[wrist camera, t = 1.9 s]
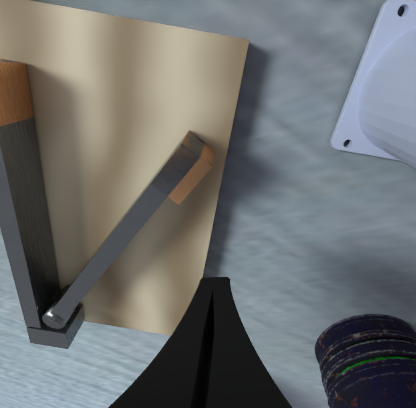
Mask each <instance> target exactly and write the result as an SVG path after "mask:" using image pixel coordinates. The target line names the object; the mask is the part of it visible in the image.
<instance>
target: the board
mask: <svg viewBox="0 0 416 408" xmlns="http://www.w3.org/2000/svg"><path fill="white" fill-rule="evenodd" d="M248 44H249V40H247V39H242V38H236V37H231V36H225V35H219V34H214V33H208V32H203V31H197V30H192V29H186V28H181V27H175V26H169V25H164V24H158V23H153V22H147V21H142V20H136V19H131V18H125V17H119V16H114V15H108V14H103V13H97V12H92V11H86V10H81V9H75V8H70V7H64V6H58V5H53V4H47V3H42V2H36V1H31V0H0V58H1V59H6V60H12V61H17V62H23V63H25V64H26V70H27V77H28V83H29V90H30V96H31V103H32V109H33V116H34V122H35V129H36V136H37V142H38V149H39V155H40V162H41V168H42V175H43V181H44V188H45V194H46V201H47V208H48V214H49V221H50V227H51V234H52V240H53V247H54V253H55V260H56V266H57V273H58V280H59V286H60V292H61V291H62V289H63V288H64V287H65V286H66V285H71V283H72V282H73V281H74V279H75V278H76V277H77V276H78V274H79V273H80V272H81V270H82V269H83V268H84V266H85V265H86V264H87V263H88V261H89V260H90V259H91V257H92V256H93V255H94V253H95V252H96V251H97V250H98V248H99V247H100V246H101V244H102V243H103V242H104V240H105V239H106V238H107V237H108V235H109V234H110V233H111V231H112V230H113V229H114V227H115V226H116V225H117V224H118V222H119V221H120V220H121V218H122V217H123V216H124V214H125V213H126V212H127V211H128V209H129V208H130V207H131V205H132V204H133V203H134V201H135V200H136V199H137V197H138V196H139V195H140V194H141V192H142V191H143V190H144V188H145V187H146V186H147V184H148V183H149V182H150V181H151V179H152V178H153V177H154V175H155V174H156V173H157V171H158V170H159V169H160V168H161V166H162V165H163V164H164V162H165V161H166V160H167V158H168V157H169V156H170V155H171V153H172V152H173V151H174V149H175V148H176V147H177V145H178V144H179V143H180V142H181V140H182V139H183V138H184V136H185V135H186V134H187V132H188V131H189V130H190V131H192V132H193V133H194V134H195V135H196V136H198V137H199V138H200V139H201V140H203V141H204V142H205V143H206V144H207V145H209V146H210V147H211V148H212V149H214V150H215V153H214V159H213V165H212V168H211V169H210V170H209V171H208V172H207V174H206V175H205V176H204V177H203V178H202V179H201V180H200V181H199V183H198V184H197V185H196V186H195V187H194V188H193V189H192V191H191V192H190V193H189V194H188V195H187V196H186V197H185V199H184V200H183V201H182V202H181V203H180V204H179V205H178V204H177V203H176V202H174V201H173V200H171V199H170V198H169V197H167V198H166V199H165V200H164V202H163V203H162V204H161V205H160V206H159V208H158V209H157V210H156V211H155V212H154V214H153V215H152V216H151V217H150V218H149V220H148V221H147V222H146V223H145V224H144V226H143V227H142V228H141V229H140V230H139V232H138V233H137V234H136V235H135V236H134V238H133V239H132V240H131V241H130V242H129V244H128V245H127V246H126V247H125V248H124V250H123V251H122V252H121V253H120V254H119V255H118V257H117V258H116V259H115V260H114V261H113V263H112V264H111V265H110V266H109V267H108V269H107V270H106V271H105V272H104V273H103V275H102V276H101V277H100V278H99V279H98V281H97V282H96V283H95V284H94V285H93V287H92V288H91V289H90V290H89V291H88V293H87V294H86V295H85V296H84V297H83V299H82V300H81V301H80V302H79V304H83V305H84V315H85V320H84V321H87V322H93V323H99V324H105V325H112V326H118V327H124V328H130V329H136V330H142V331H148V332H154V333H160V334H166V335H172V333H173V332H174V330H175V329H176V327H177V325H178V324H179V322H180V321H181V319H182V317H183V315H184V314H185V312H186V310H187V308H188V306H189V304H190V302H191V300H192V298H193V296H194V294H195V292H196V289H197V287H198V285H199V282H200V279H202V277H203V272H204V267H205V262H206V257H207V252H208V247H209V242H210V237H211V231H212V226H213V221H214V216H215V211H216V206H217V201H218V196H219V191H220V186H221V181H222V176H223V171H224V166H225V161H226V155H227V150H228V145H229V140H230V135H231V130H232V125H233V120H234V115H235V110H236V105H237V100H238V95H239V90H240V85H241V79H242V74H243V69H244V64H245V59H246V54H247V49H248Z"/></svg>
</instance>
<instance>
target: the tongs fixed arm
mask: <svg viewBox="0 0 416 408" xmlns="http://www.w3.org/2000/svg"><path fill="white" fill-rule="evenodd" d="M0 228H1V232H2V236H3V239H4V243H5V247H6V251H7V255H8V258H9V262H10V266H11V270H12V274H13V278H14V281H15V285H16V289H17V293H18V297H19V301H20V304H21V308H22V312H23V316H24V320H25V324H26V326H27V331H28V335H29V339H30V343H35V344H41V345H47V346H53V347H59V348H65V349H68V348H69V346H70V344H71V343H72V341H73V339H74V337H75V336H76V334H77V332H78V330H79V329H80V327H81V325H82V323H83V321H84V320H85V315H84V305H83V304H78V305H77V307H76V308H75V310H74V312H73V313H72V315H71V316H70V318H69V320H68V321H67V323H66V324H65V326H64V327H63V328H60V329H56V328H52V327H49V326H48V325H46V324H45V323H44V322H43V319H42V317H43V315H44V314H45V313H46V311H47V310H48V308H49V307H50V306H51V304H52V303H53V302H54V300H55V299H56V298H57V296H58V295H59V293H60V286H59V280H58V273H57V266H56V260H55V253H54V247H53V240H52V234H51V227H50V221H49V214H48V208H47V201H46V194H45V188H44V181H43V175H42V168H41V162H40V155H39V149H38V142H37V136H36V129H35V122H34V116H33V109H32V103H31V96H30V90H29V83H28V77H27V70H26V64H25V63H23V62H17V61H12V60H6V59H1V58H0Z"/></svg>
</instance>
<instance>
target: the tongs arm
mask: <svg viewBox="0 0 416 408" xmlns="http://www.w3.org/2000/svg"><path fill="white" fill-rule="evenodd" d="M214 153H215V150H214V149H212V148H211V147H210V146H209V145H207V144H206V143H205V142H204V141H203V140H201V139H200V138H199V137H198V136H196V135H195V134H194V133H193V132H192V131H190V130H189V131H188V132H187V134H186V135H185V136H184V138H183V139H182V140H181V142H180V143H179V144H178V145H177V147H176V148H175V149H174V151H173V152H172V153H171V155H170V156H169V157H168V158H167V160H166V161H165V162H164V164H163V165H162V166H161V168H160V169H159V170H158V171H157V173H156V174H155V175H154V177H153V178H152V179H151V181H150V182H149V183H148V184H147V186H146V187H145V188H144V190H143V191H142V192H141V194H140V195H139V196H138V197H137V199H136V200H135V201H134V203H133V204H132V205H131V207H130V208H129V209H128V211H127V212H126V213H125V214H124V216H123V217H122V218H121V220H120V221H119V222H118V224H117V225H116V226H115V227H114V229H113V230H112V231H111V233H110V234H109V235H108V237H107V238H106V239H105V240H104V242H103V243H102V244H101V246H100V247H99V248H98V250H97V251H96V252H95V253H94V255H93V256H92V257H91V259H90V260H89V261H88V263H87V264H86V265H85V266H84V268H83V269H82V270H81V272H80V273H79V274H78V276H77V277H76V278H75V279H74V281H73V282H72V283H71V285H66V286H65V287H64V288H63V289H62V291H61V292H60V293H59V295H58V296H57V298H56V299H55V300H54V302H53V303H52V304H51V306H50V307H49V308H48V310H47V311H46V313H45V314H44V315H43V317H42V319H43V322H44V323H45V324H46V325H48V326H49V327H52V328H56V329H60V328H63V327H64V326H65V324H66V323H67V321H68V320H69V318H70V316H71V315H72V313H73V312H74V310H75V308H76V307H77V305H78V304H79V302H80V301H81V300H82V299H83V297H84V296H85V295H86V294H87V293H88V291H89V290H90V289H91V288H92V287H93V285H94V284H95V283H96V282H97V281H98V279H99V278H100V277H101V276H102V275H103V273H104V272H105V271H106V270H107V269H108V267H109V266H110V265H111V264H112V263H113V261H114V260H115V259H116V258H117V257H118V255H119V254H120V253H121V252H122V251H123V250H124V248H125V247H126V246H127V245H128V244H129V242H130V241H131V240H132V239H133V238H134V236H135V235H136V234H137V233H138V232H139V230H140V229H141V228H142V227H143V226H144V224H145V223H146V222H147V221H148V220H149V218H150V217H151V216H152V215H153V214H154V212H155V211H156V210H157V209H158V208H159V206H160V205H161V204H162V203H163V202H164V200H165V199H166V198H167V197H169V198H170V199H171V200H173V201H174V202H176V203H177V204H178V205H179V204H180V203H181V202H182V201H183V200H184V199H185V197H186V196H187V195H188V194H189V193H190V192H191V191H192V189H193V188H194V187H195V186H196V185H197V184H198V183H199V181H200V180H201V179H202V178H203V177H204V176H205V175H206V174H207V172H208V171H209V170H210V169H211V168H212V165H213V159H214Z"/></svg>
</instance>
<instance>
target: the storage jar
mask: <svg viewBox="0 0 416 408" xmlns="http://www.w3.org/2000/svg"><path fill="white" fill-rule="evenodd" d="M315 354H316V358H317V360H318V363H319V364H320V371H321V377H322V382H323V386H324V389H325V392H326V395H327V397H328V405H329V407H330V408H416V332H415V331H414V330H413V328H412V327H411V326H410V325H409V324H408V323H406V322H405V321H403V320H401V319H398V318H396V317H393V316H388V315H380V314H367V315H359V316H354V317H350V318H347V319H344V320H341V321H339V322H337V323H335V324H333V325H332V326H330V327H329V328H327V329H326V330H325V331H324V332H323V333H322V334H321V335H320V336H319V338H318V339H317V342H316V344H315Z"/></svg>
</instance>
